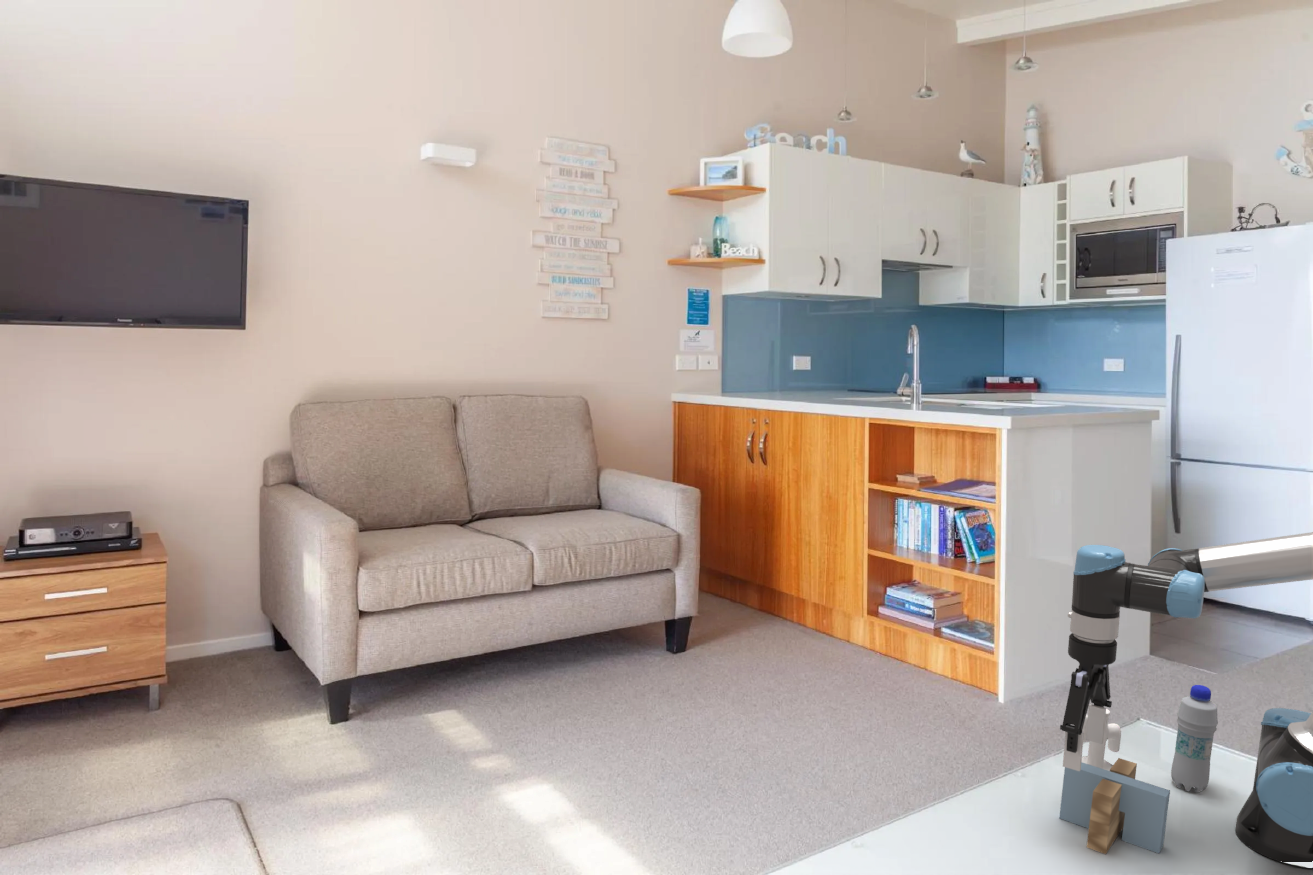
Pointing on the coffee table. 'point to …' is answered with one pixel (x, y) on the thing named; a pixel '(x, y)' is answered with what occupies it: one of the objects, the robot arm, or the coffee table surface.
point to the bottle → (1194, 739)
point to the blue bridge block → (1136, 801)
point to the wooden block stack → (1108, 809)
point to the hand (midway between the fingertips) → (1083, 754)
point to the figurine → (1098, 750)
